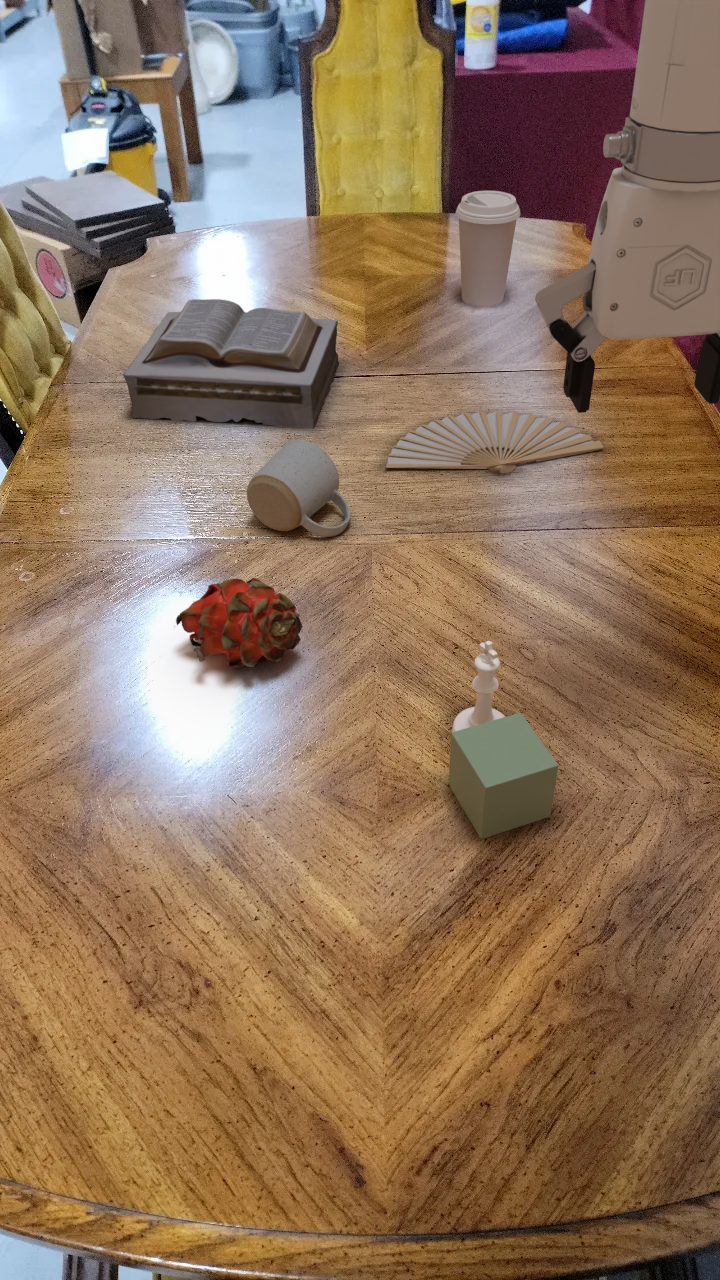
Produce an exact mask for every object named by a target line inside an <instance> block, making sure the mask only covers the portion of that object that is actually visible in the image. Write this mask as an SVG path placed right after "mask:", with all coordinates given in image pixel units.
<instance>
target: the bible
mask: <svg viewBox="0 0 720 1280" xmlns="http://www.w3.org/2000/svg"><path fill="white" fill-rule="evenodd" d="M338 324H339V321H338V320H337V319H326V318H313V317H311V316H310V315H308V313H307V312H305V311H295V310H285V309H276V308H270V307H257V308H256V307H255V308H253V309H250V310H249V311H247V312H246V311H245V310H244V309H243V308H242V307H241V305H239V304H238V303H237V302H234V301H231V300H227V299H220V298H210V299H209V298H208V299H207V298H206V299H199V298H196V299H195V298H193V299H192V298H191V299H188V300H187V301H186V303H185V305H184V306H183V308H182V309H181V311H168V312H167V313H166V314H165V316H164V317H163V318H162V319H161V320H160V322H159V324H158V325H157V326H156V327H155V329H154V331H153V332H152V334H151V335H150V337H148V340H147V342H146V343H144V345H143V347H142V348H141V349H140V351H139V352H138V353H137V355H136V356H135V358H134V359H133V360H132V362H131V363H130V365H129V366H128V368H127V370H126V371H125V372H124V373H123V378H124V380H125V383H126V386H127V390H128V395H129V398H130V402H131V412H132V418H133V419H134V418H137V419H148V420H159V419H163V418H165V419H169V420H171V421H172V422H173V421H175V422H182V421H187V422H197V417H199V418H202V419H204V420H206V421H207V422H213V423H225V422H229V421H231V420H232V421H234V422H235V423H237V422H240V421H241V420H242V419H246V420H249V421H254V422H255V423H256V424H259V423H260V424H261V423H262V424H261V425H263V426H274V427H285V428H299V429H300V428H303V429H311V430H312V429H314V427H315V426H316V425H317V422H318V419H319V416H320V413H322V410H323V405H324V404H325V401H326V399H327V396H328V394H330V391H331V389H332V387H331V384H332V383H333V382H334V381H335V377H336V373H337V369H338V367H339V365H340V362H339V354H338V352H337V349H336V346H337V338H338Z"/></svg>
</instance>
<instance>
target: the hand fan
mask: <svg viewBox="0 0 720 1280" xmlns="http://www.w3.org/2000/svg"><path fill="white" fill-rule="evenodd" d="M391 447H392V449H391V452H390V453H388V454H387V456H388V457H387V463H386V464H385V468H386V469H453V470H454V469H457V470H458V469H463V470H465V469H466V470H469V469H470V470H482V469H483V470H488V471H489V472H491V473H496V472H497V474H500V475H501V474H502V475H503V474H504V475H507V474H510V473H512V472H513V471H515V470H516V468H517V467H516V465H517V464H521V463H527V462H533V461H535V463H536V462H543V461H548V460H549V461H550V460H554V459H559V458H564V457H569V456H575V455H581V454H586V453H590V452H596V451H601V450H603V449H604V448H605V447H604V445H603V443H602V442H601V440H600V439H598V440H595V441H594V439H593V437H592V436H591V434H590V433H588V434H585V433H581V430H580V429H579V428H578V427H577V426H576V427H570V426H569V427H568V424H567V423H565V421H561V422H560V421H554V420H553V419H552V418H550V417H548V416H546V417H537V415H535V414H533V413H529V414H520V413H519V412H516V411H513V412H512V411H511V412H509V413H508V412H507V413H503V411H501V410H495V411H493V412H489V413H487V412H486V411H482V410H478V412H474V413H472V414H471V413H470V412H463V413H461V414H459V415H457V416H455V415H449V414H447V416H446V417H444V418H442V419H438V418H433V420H432V421H431V422H429V423H428V424H425V423H423V424H420V425H419V426H418V427H417V428H416V429H415V430H408V433H406V435H405V436H403V437H402V436H401V437H399V440H398V441H397V444H396V445H395V444H394V445H392V446H391Z"/></svg>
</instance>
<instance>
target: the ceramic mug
mask: <svg viewBox="0 0 720 1280" xmlns="http://www.w3.org/2000/svg"><path fill="white" fill-rule="evenodd" d="M339 487H340V474H339V471H338V469H337V466H336V464H335V462H334V460H333V459H332V457H331V456H330V455H329V454H328V453H327V451H325V450H324V449H322V447H320V445H318V444H316V443H314V442H312V441H310V440H307V439H301V438H299V439H298V438H297V439H292V440H290V441H288V442H286V443H285V444H284V445H283V446H282V447H281V448H280V449H279V450H278V451H276V453H275V454H274V455H273V456H272V457H271V458H270V459H269V460H268V461H267V462H266V463H265V464H263V466H262V467H260V469H258V471H256V472H255V474H254V475H253V477H252V478H251V479H250V481H249V483H248V485H247V488H246V499H247V504H248V506H249V508H250V510H251V512H252V513H253V514H254V516H255V517H256V518H257V520H258V521H260V522H261V523H262V524H263V525H264V526H266V527H268V528H269V529H272V530H274V531H278V532H290V531H292V530H294V529H297V528H298V527H300V526H302V527H303V528H304V529H305V530H306V531H308V532H309V533H312V534H314V535H317V536H318V537H324V538H330V537H331V538H332V537H336V536H338V535H341V533H343V532H344V531H345V530H346V528H347V527H348V524H349V523H350V521H351V519H352V511H351V508H350V505H349V503H348V501H347V500H346V499H345V497H344V496H343V495H342V494H341V493H340V492H339ZM330 501H332V502H333V503H334V504H335V506H337V507H338V509H339V510H340V511H341V513H342V515H343V517H344V518H343V519H344V520H343V521H342V522H341V523H340V524H337V525H334V526H325V525H322V524H320V523H318V522H316V521H314V520H313V519H311V517H312V516H313V515H314V514H316V513H317V512H318V511H319V510H321V508H323V507H324V506H325V505H326V504H328V502H330Z"/></svg>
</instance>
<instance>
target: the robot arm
mask: <svg viewBox="0 0 720 1280" xmlns="http://www.w3.org/2000/svg"><path fill="white" fill-rule="evenodd" d="M640 31H641V32H640V38H639V46H638V54H637V59H636V65H635V66H636V67H635V75H634V81H633V88H632V94H631V95H632V96H631V103H630V111H629V116H627V117H625V122H624V125H623V127H622V130H618V131H617V132H616V133H606V134H605V136H604V140H603V144H602V145H603V147H602V152H603V156H604V158H615V159H616V160H619V161H620V163H621V164H622V166H621V167H616V168H614V169H613V170H612V172H611V175H610V178H609V180H608V183H607V186H606V189H605V192H604V195H603V198H602V201H601V205H600V208H599V212H598V214H597V219H596V223H595V226H594V231H593V235H592V240H591V244H590V248H589V253H588V258H587V264H586V265H584V266H582V267H580V268H579V269H577V270H574V271H573V272H571V273H569V274H567V275H565V276H564V277H562V278H560V279H559V280H556V281H555V282H553V283H551V284H549V285H548V286H545V287H544V288H541V289H540V290H539V291H537V292H536V294H535V296H534V300H535V303H536V305H537V307H538V311H539V312H540V314H541V316H542V319H543V321H544V323H545V327H546V328H547V329H548V331H549V333H550V335H551V337H552V338H553V339H554V340H555V341H556V342H557V343H558V344H559V345H560V346H561V347H562V348H563V349H564V350H565V351H566V359H565V368H564V377H563V393H564V396H565V397H566V398H569V399H570V401H571V402H572V405H573V406H574V408H575V410H576V412H577V413H578V414H584V413H587V411H589V410H590V405H591V398H592V391H593V383H594V377H595V370H596V362H595V360H594V359H593V357H592V356H591V355H592V354H593V353H594V352H595V350H596V349H597V348H599V346H600V345H601V344H602V343H603V342H604V341H605V340H606V339H607V338H608V339H611V340H621V341H622V340H627V341H628V340H642V339H643V340H644V339H645V340H646V339H661V338H677V337H689V336H691V337H692V336H703V335H705V338H704V339H703V341H702V344H701V350H700V354H699V359H698V364H697V368H696V373H695V377H694V383H693V384H694V388H695V389H696V390H697V391H698V393H699V394H700V395H701V397H702V398H703V399H704V401H705V402H706V403H708V404H710V405H711V404H712V405H713V404H714V405H715V404H718V403H719V402H720V0H644V9H643V16H642V22H641V30H640ZM581 296H582V308H583V310H584V312H583V313H582V314H581V315H580V316H579V317H578V318H577V319H576V320H575V322H573V324H572V325H571V324H570V323H569V322H568V321H567V320H566V319H565V317H564V314H563V308H564V306H565V305H567V304H568V303H570V302H572V301H574V300H576V299H577V298H580V297H581Z"/></svg>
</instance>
